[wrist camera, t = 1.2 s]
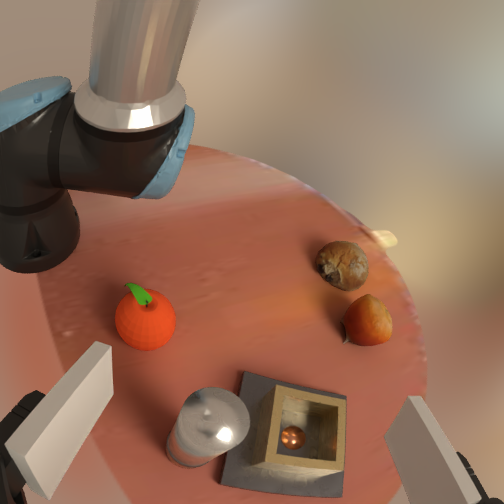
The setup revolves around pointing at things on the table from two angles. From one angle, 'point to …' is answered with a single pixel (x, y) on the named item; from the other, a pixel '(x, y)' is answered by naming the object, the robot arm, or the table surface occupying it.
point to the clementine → (145, 318)
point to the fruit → (367, 322)
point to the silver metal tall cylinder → (207, 427)
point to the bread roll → (343, 265)
